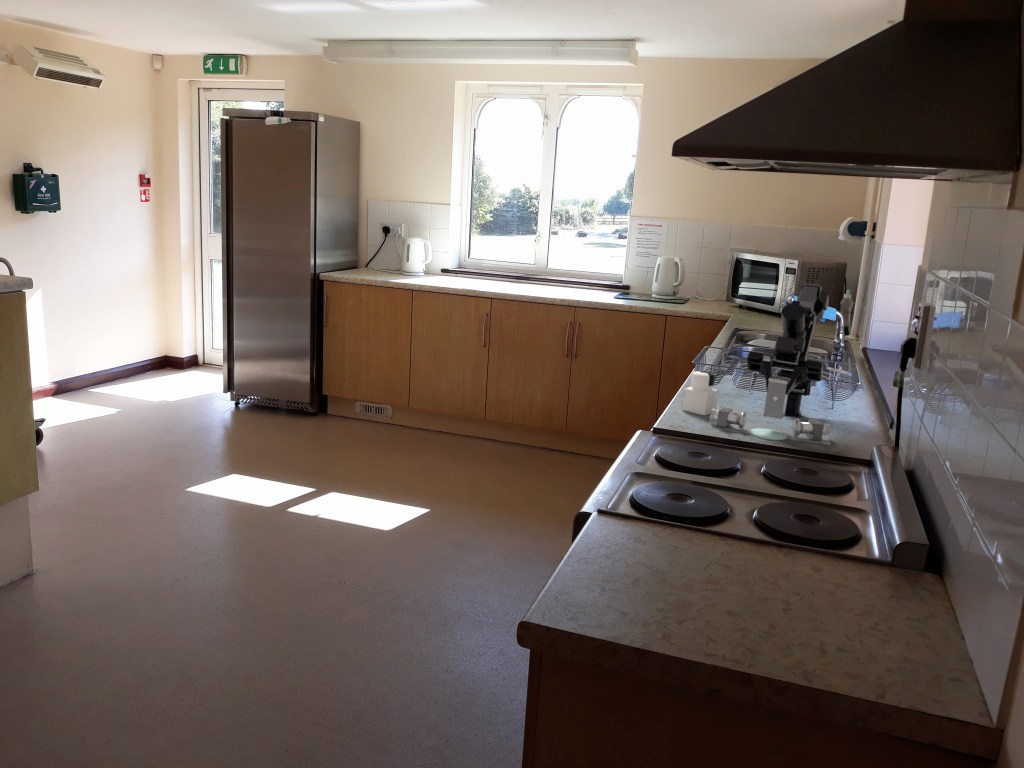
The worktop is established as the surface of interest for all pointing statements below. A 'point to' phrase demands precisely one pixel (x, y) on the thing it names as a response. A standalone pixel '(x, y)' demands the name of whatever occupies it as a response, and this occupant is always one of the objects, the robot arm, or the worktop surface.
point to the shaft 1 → (727, 418)
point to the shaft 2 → (811, 429)
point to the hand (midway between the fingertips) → (776, 392)
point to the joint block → (776, 397)
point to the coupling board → (768, 432)
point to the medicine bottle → (700, 394)
